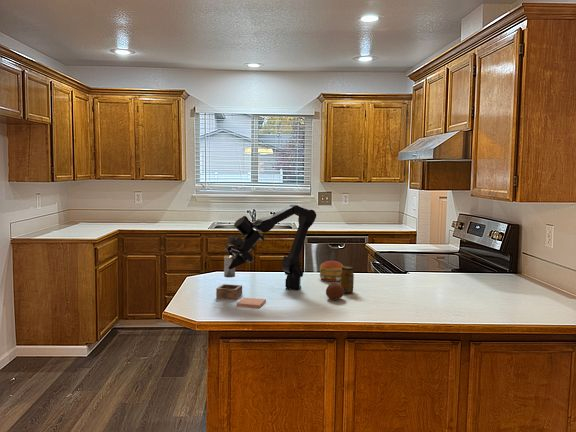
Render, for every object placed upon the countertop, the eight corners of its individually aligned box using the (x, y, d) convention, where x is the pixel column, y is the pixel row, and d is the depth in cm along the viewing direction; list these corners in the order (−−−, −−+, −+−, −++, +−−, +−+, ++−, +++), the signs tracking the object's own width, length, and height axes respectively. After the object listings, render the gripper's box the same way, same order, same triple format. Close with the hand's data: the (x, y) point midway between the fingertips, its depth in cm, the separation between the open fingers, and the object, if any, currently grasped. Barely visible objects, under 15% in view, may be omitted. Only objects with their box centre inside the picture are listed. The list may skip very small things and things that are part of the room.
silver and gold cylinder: (236, 275, 237) (236, 255, 236) (232, 277, 232) (233, 257, 231) (226, 274, 238) (226, 255, 237) (222, 277, 233) (222, 257, 232)
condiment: (350, 290, 252) (350, 265, 251) (358, 294, 244) (359, 269, 243) (336, 291, 250) (336, 266, 248) (344, 295, 242) (344, 269, 240)
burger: (314, 278, 278) (315, 259, 277) (337, 276, 283) (337, 257, 282) (326, 283, 266) (326, 263, 265) (349, 281, 271) (350, 262, 270)
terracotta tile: (265, 302, 228) (265, 299, 228) (259, 308, 218) (259, 305, 218) (243, 300, 230) (243, 297, 230) (236, 306, 220) (236, 303, 220)
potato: (340, 295, 241) (341, 279, 240) (347, 301, 231) (347, 285, 230) (322, 296, 240) (323, 280, 239) (328, 302, 229) (329, 285, 228)
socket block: (242, 295, 239) (242, 285, 239) (235, 299, 230) (235, 289, 230) (223, 293, 241) (223, 283, 241) (216, 298, 232) (216, 288, 232)
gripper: (228, 227, 243) (206, 252, 238) (247, 232, 227) (224, 259, 222) (243, 243, 248) (222, 268, 243) (263, 248, 232) (240, 276, 227)
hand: (226, 267), depth 234 cm, fingers closed on silver and gold cylinder, 5 cm apart
